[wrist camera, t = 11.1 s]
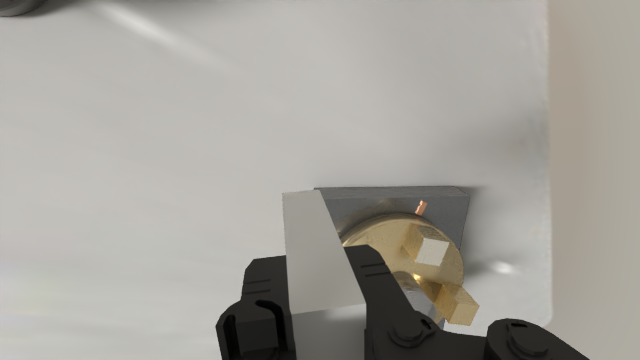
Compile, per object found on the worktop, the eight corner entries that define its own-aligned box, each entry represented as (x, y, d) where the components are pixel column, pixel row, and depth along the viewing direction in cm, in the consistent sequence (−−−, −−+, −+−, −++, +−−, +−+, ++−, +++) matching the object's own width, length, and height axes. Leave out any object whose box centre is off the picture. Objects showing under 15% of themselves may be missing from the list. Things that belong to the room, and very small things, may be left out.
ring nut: (297, 260, 38) (303, 304, 31) (421, 187, 38) (457, 214, 30) (361, 346, 44) (378, 401, 37) (468, 285, 44) (508, 328, 36)
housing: (310, 321, 47) (313, 343, 43) (314, 188, 40) (318, 199, 36) (430, 311, 50) (443, 331, 46) (453, 186, 43) (471, 196, 39)
